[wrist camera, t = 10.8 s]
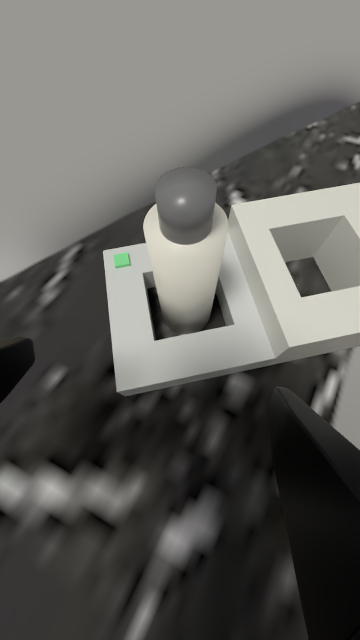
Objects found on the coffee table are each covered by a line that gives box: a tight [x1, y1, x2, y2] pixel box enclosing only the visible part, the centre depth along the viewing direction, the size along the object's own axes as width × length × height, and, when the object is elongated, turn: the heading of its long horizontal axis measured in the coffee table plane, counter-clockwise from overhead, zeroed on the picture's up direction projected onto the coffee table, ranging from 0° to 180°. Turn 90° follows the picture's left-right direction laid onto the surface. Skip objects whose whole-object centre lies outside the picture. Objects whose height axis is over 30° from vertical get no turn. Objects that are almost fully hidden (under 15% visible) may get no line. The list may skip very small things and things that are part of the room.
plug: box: [143, 167, 229, 334], centre depth 16 cm, size 4×4×12 cm
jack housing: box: [103, 183, 360, 396], centre depth 19 cm, size 12×22×5 cm, turn 102°
